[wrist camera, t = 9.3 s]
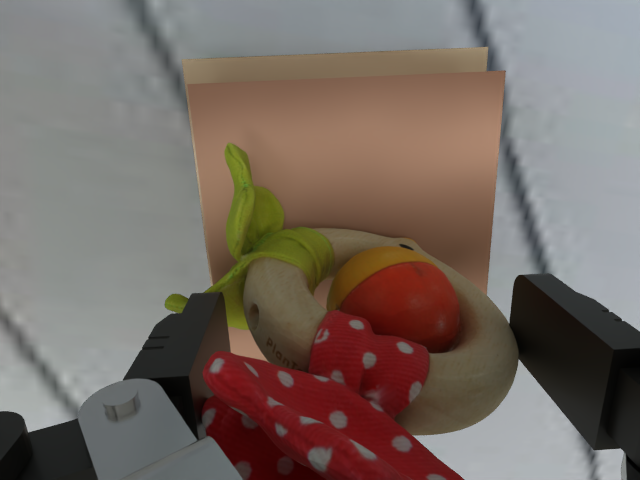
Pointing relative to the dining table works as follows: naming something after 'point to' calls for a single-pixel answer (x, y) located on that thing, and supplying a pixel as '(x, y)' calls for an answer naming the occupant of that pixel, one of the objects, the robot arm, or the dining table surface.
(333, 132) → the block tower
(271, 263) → the bird rattle
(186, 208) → the dining table surface
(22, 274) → the dining table surface
